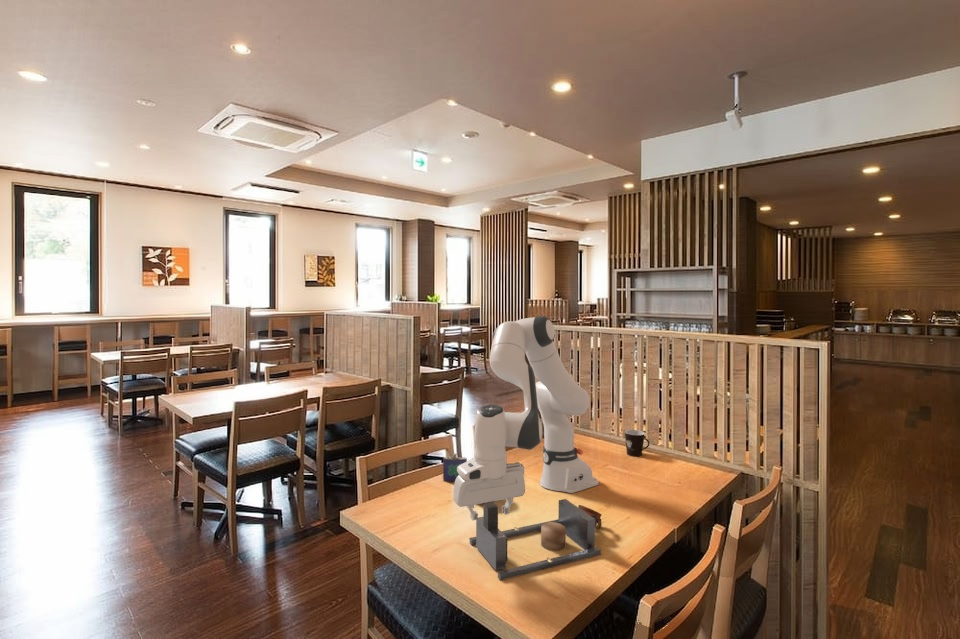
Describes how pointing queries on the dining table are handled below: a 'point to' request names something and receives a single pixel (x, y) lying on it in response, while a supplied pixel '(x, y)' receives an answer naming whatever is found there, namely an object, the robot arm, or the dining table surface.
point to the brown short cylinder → (553, 536)
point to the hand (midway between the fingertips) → (490, 516)
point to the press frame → (577, 529)
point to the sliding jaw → (491, 537)
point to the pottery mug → (592, 514)
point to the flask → (451, 467)
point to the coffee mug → (635, 442)
